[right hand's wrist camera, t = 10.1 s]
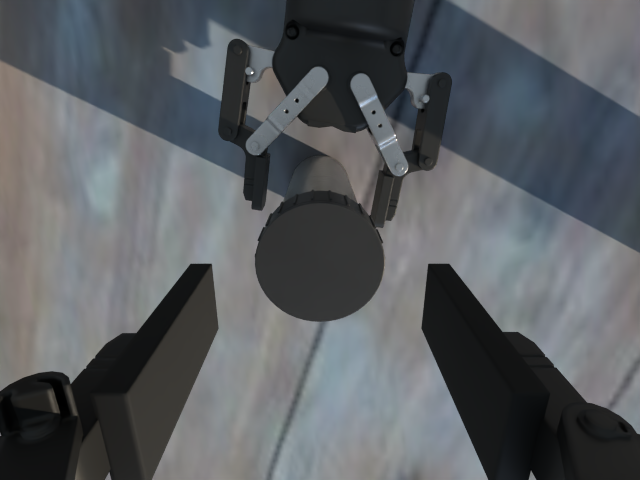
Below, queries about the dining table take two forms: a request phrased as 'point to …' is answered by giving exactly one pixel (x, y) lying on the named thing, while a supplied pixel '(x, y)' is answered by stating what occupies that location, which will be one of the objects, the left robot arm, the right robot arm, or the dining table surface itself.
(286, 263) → the lid
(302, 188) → the thermos
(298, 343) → the dining table surface
